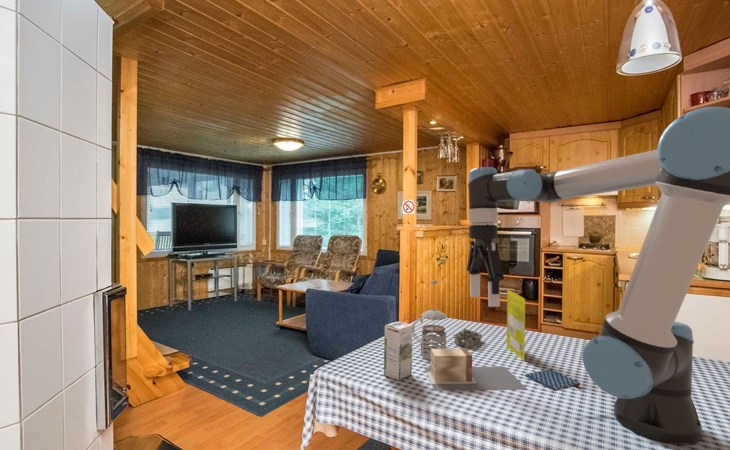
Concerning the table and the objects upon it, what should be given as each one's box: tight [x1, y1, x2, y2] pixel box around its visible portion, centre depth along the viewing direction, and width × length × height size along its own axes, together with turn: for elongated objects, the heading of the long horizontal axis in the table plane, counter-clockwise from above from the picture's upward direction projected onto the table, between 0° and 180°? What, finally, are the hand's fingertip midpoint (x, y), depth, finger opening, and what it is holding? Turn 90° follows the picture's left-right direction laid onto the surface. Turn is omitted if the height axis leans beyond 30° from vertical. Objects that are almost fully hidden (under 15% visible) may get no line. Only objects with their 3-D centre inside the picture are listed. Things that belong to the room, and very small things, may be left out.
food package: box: [506, 289, 526, 362], centre depth 125 cm, size 15×1×20 cm, turn 179°
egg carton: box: [453, 328, 483, 349], centre depth 137 cm, size 11×8×4 cm
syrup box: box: [383, 321, 414, 381], centre depth 108 cm, size 6×6×14 cm
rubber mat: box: [423, 366, 528, 392], centre depth 105 cm, size 15×24×1 cm, turn 92°
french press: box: [412, 279, 448, 361], centre depth 122 cm, size 10×12×25 cm
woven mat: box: [524, 368, 581, 392], centre depth 104 cm, size 10×11×2 cm
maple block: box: [430, 348, 473, 382], centre depth 105 cm, size 10×6×7 cm, turn 92°
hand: (483, 301), depth 106 cm, fingers open, 13 cm apart
